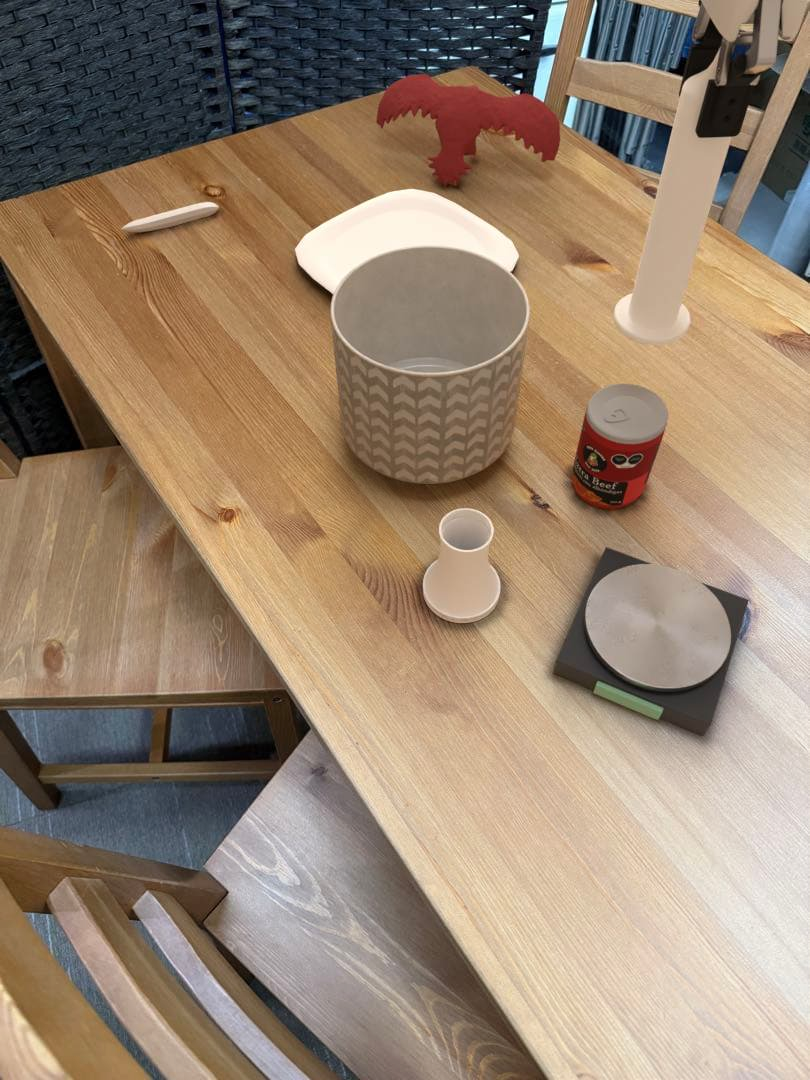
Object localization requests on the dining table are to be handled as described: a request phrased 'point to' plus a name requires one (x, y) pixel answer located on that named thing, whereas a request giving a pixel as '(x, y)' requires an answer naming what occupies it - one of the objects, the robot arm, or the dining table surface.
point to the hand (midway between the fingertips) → (708, 114)
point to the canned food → (618, 444)
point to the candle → (675, 224)
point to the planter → (429, 361)
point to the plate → (397, 234)
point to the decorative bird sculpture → (469, 120)
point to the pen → (172, 217)
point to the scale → (653, 640)
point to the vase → (462, 569)
